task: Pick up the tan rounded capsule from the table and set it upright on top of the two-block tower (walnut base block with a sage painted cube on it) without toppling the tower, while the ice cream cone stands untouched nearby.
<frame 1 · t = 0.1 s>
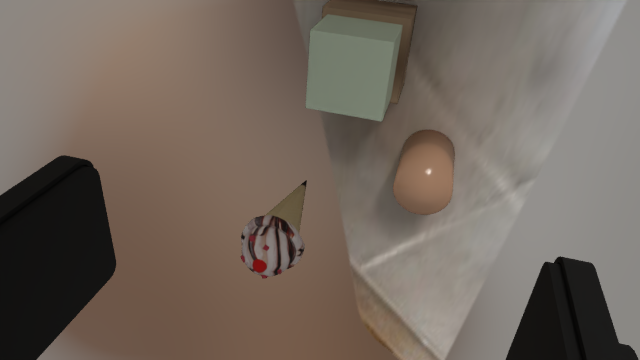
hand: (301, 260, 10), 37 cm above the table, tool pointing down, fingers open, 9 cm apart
tan rounded capsule: (428, 153, 49), on the table
base block: (371, 40, 45), on the table, touching pale green block
ice cream cone: (306, 180, 54), on the table
pale green block: (360, 56, 41), point 5 cm above the table, touching base block
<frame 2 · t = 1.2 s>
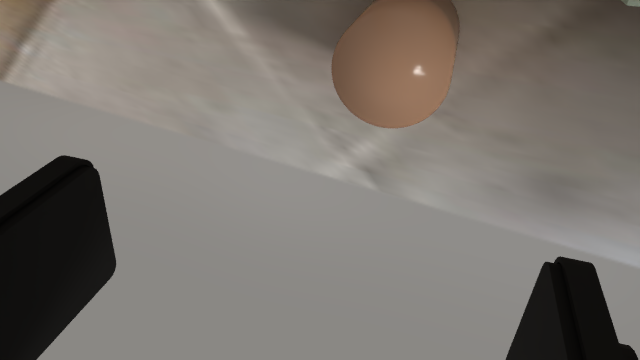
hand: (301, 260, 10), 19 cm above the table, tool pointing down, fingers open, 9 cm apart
tan rounded capsule: (410, 31, 27), on the table
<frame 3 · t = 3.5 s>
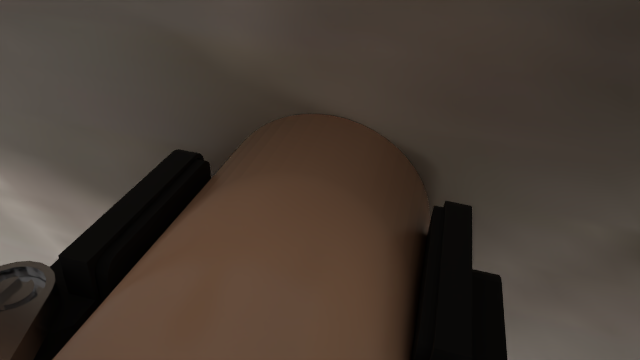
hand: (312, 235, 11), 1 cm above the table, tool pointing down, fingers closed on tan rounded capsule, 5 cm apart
tan rounded capsule: (323, 211, 12), on the table, touching gripper
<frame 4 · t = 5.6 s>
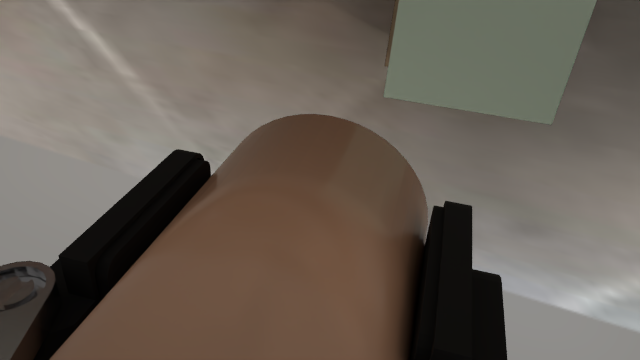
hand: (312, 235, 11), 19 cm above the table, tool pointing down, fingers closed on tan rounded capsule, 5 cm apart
tan rounded capsule: (321, 211, 12), point 18 cm above the table, touching gripper
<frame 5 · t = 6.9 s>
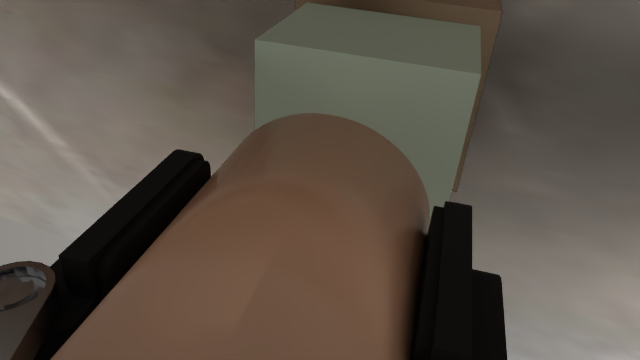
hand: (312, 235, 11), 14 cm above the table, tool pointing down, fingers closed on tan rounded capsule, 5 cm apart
tan rounded capsule: (323, 210, 12), point 13 cm above the table, touching gripper
base block: (398, 56, 23), on the table, touching pale green block
pale green block: (379, 95, 19), point 5 cm above the table, touching base block
when the fingers open (12 cm above the table, at t = 7.6 s): tan rounded capsule drops 2 cm, resting on pale green block.
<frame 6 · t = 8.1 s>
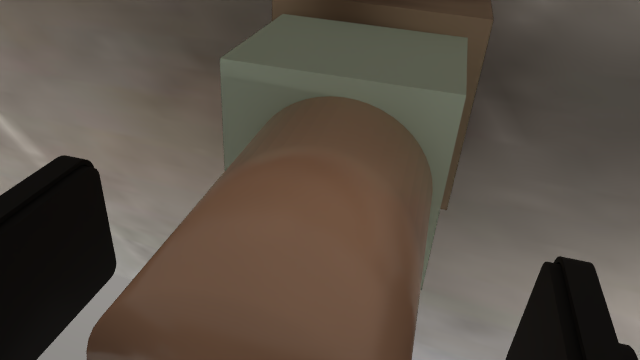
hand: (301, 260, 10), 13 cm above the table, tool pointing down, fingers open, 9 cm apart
tan rounded capsule: (337, 184, 13), point 10 cm above the table, touching pale green block
base block: (385, 64, 22), on the table, touching pale green block
pale green block: (362, 111, 18), point 5 cm above the table, touching base block, tan rounded capsule
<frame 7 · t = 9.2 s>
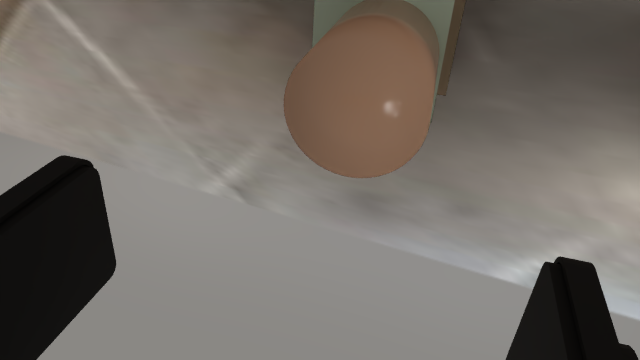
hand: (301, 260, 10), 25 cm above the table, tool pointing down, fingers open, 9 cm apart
tan rounded capsule: (383, 54, 23), point 10 cm above the table, touching pale green block
base block: (402, 5, 31), on the table, touching pale green block
pale green block: (389, 26, 27), point 5 cm above the table, touching base block, tan rounded capsule
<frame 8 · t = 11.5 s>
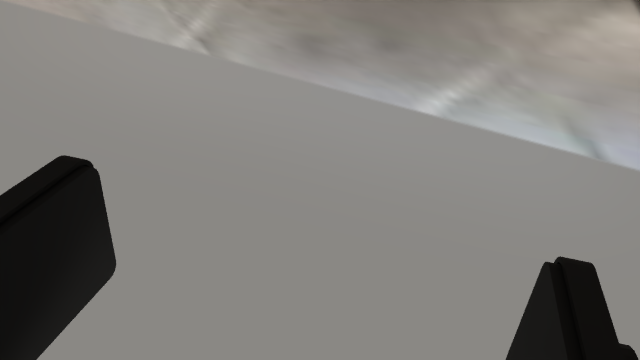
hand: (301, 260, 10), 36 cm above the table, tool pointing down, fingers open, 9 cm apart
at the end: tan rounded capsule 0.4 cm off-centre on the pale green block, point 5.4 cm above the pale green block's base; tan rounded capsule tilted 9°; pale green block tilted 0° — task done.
